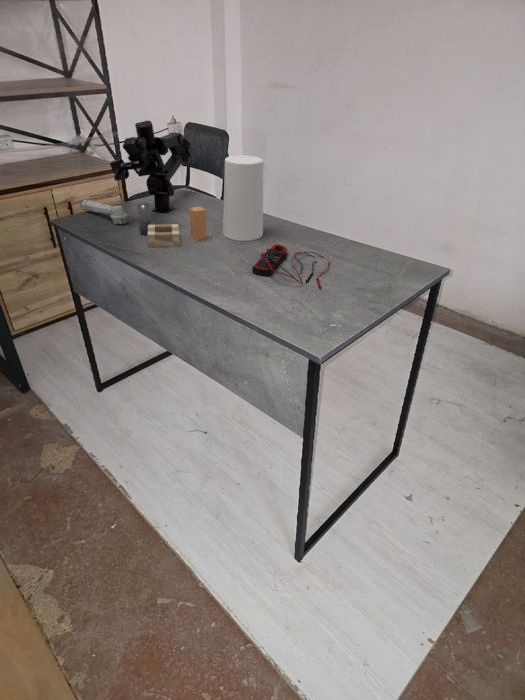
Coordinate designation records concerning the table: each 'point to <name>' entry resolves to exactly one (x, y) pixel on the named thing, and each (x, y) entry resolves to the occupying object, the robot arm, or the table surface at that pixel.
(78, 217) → the table surface
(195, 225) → the square bit
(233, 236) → the cylinder
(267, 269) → the digital clamp meter
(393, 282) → the table surface
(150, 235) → the socket block
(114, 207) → the grey knobbed rod
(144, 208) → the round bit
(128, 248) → the table surface
